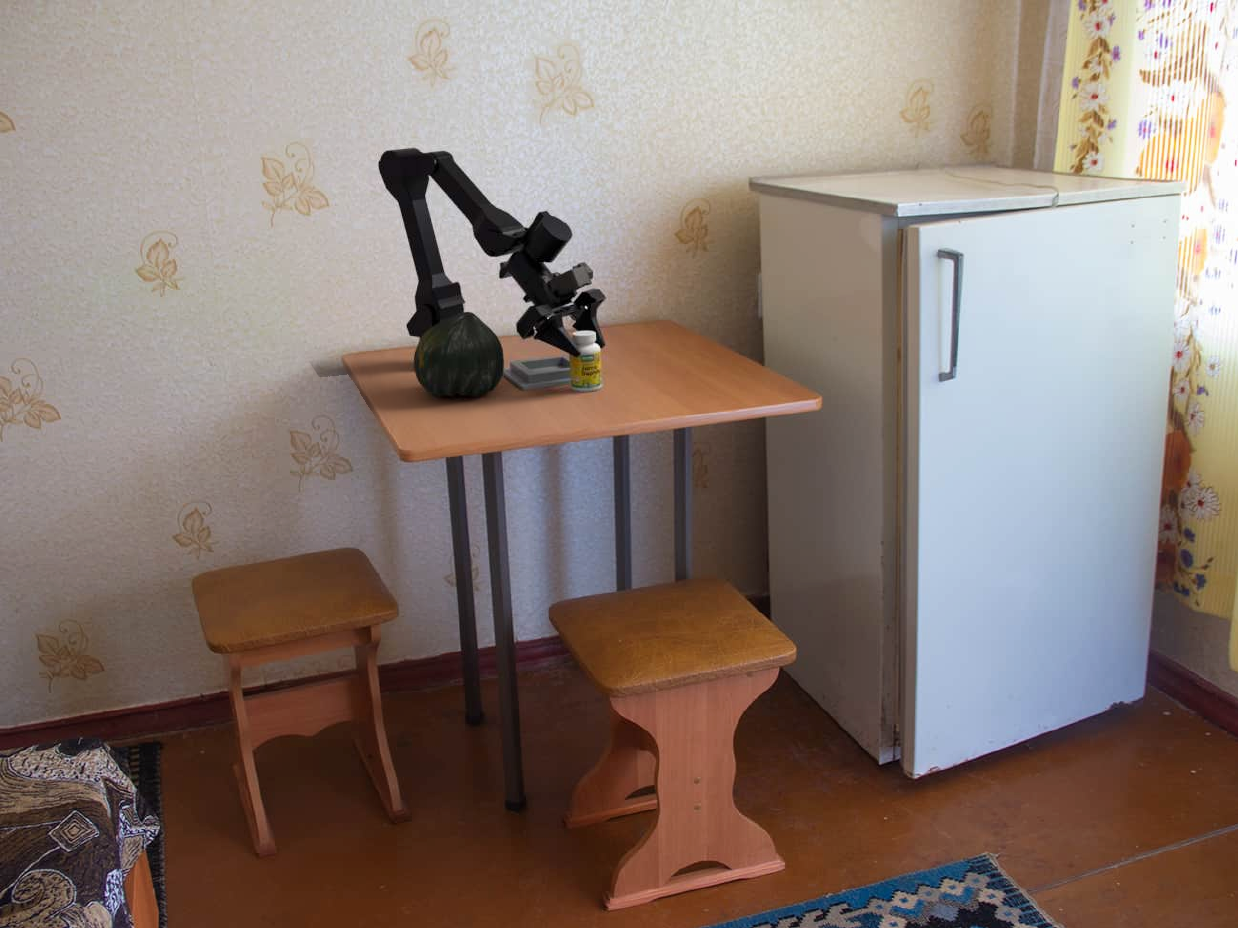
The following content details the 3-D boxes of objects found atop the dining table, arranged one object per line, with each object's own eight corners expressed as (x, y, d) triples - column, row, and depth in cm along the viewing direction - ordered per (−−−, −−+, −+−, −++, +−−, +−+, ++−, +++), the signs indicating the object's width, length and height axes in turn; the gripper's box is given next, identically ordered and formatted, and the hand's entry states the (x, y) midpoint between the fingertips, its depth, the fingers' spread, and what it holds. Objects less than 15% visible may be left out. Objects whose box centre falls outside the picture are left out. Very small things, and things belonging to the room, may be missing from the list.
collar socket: (500, 372, 210) (499, 361, 210) (573, 362, 215) (572, 351, 214) (523, 390, 198) (522, 378, 197) (600, 379, 203) (599, 368, 202)
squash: (404, 355, 202) (413, 300, 190) (487, 348, 207) (501, 295, 195) (420, 423, 195) (431, 371, 183) (506, 414, 201) (521, 363, 188)
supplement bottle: (591, 382, 201) (589, 328, 198) (608, 388, 197) (606, 333, 194) (564, 387, 199) (562, 332, 195) (581, 394, 194) (578, 338, 191)
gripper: (525, 257, 185) (583, 332, 183) (594, 241, 200) (649, 310, 197) (491, 302, 192) (547, 374, 190) (560, 283, 207) (613, 350, 204)
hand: (591, 351), depth 195 cm, fingers open, 7 cm apart
